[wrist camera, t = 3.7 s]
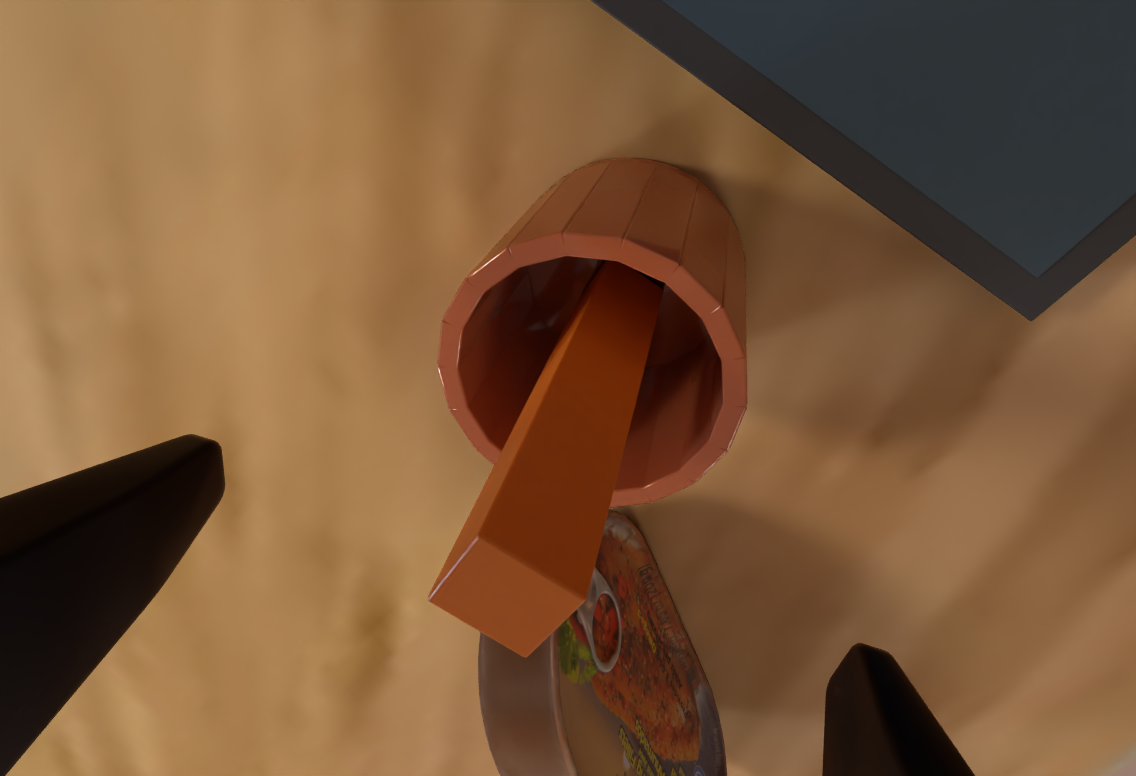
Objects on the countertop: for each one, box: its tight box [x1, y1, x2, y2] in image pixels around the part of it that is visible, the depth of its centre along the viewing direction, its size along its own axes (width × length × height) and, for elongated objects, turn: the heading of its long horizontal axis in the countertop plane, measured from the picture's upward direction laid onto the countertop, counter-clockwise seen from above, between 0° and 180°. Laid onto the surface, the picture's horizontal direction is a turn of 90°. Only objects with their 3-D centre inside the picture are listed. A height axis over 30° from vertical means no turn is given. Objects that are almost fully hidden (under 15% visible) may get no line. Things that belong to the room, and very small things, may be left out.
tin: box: [478, 510, 727, 776], centre depth 22 cm, size 15×3×8 cm, turn 22°
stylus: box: [428, 260, 665, 657], centre depth 13 cm, size 2×2×11 cm
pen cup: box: [438, 158, 747, 507], centre depth 16 cm, size 6×6×6 cm
